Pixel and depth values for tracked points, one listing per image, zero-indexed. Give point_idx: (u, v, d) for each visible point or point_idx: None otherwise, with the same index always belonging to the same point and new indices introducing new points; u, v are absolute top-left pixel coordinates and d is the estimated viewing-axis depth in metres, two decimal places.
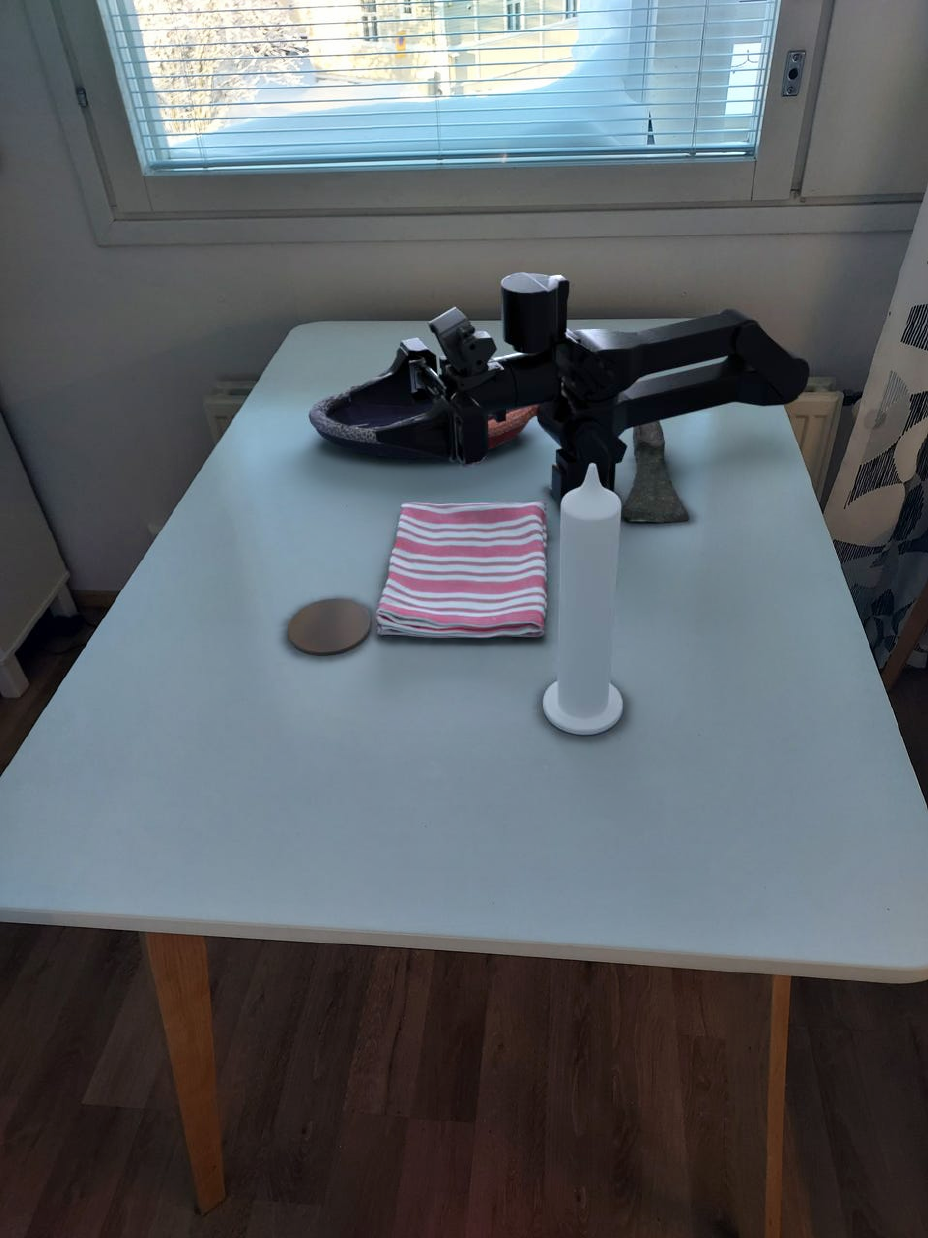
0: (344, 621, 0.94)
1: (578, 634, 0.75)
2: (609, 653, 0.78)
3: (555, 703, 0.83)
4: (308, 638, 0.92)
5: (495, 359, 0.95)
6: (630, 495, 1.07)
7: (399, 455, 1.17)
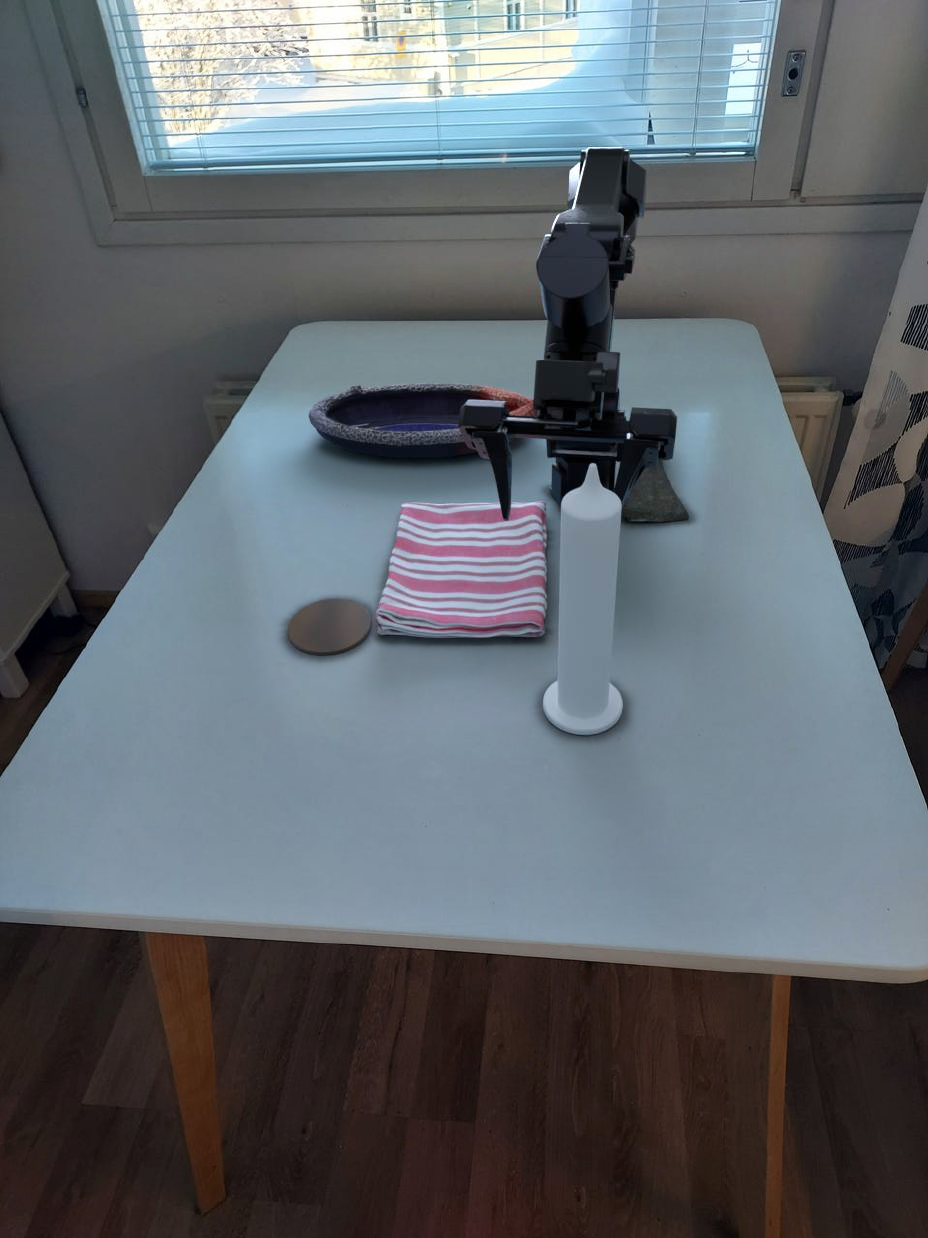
0: (344, 621, 0.94)
1: (578, 634, 0.75)
2: (609, 653, 0.78)
3: (555, 703, 0.83)
4: (308, 638, 0.92)
5: (569, 350, 0.80)
6: (629, 495, 1.07)
7: (399, 455, 1.17)
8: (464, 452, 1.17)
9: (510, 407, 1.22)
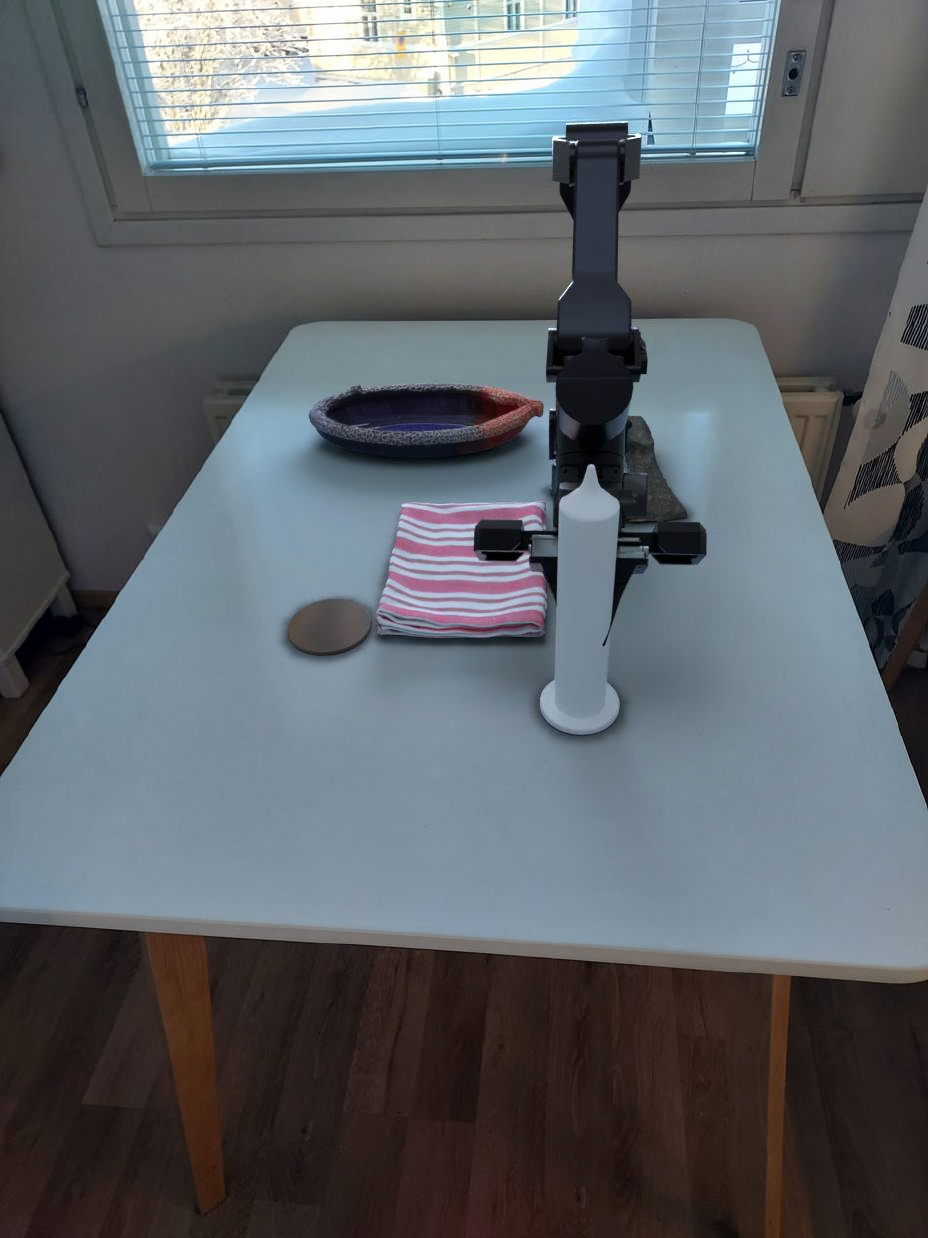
0: (344, 621, 0.94)
1: (577, 635, 0.75)
2: (607, 653, 0.78)
3: (552, 703, 0.83)
4: (308, 638, 0.92)
5: (587, 462, 0.75)
6: None
7: (399, 455, 1.17)
8: (464, 452, 1.17)
9: (510, 407, 1.22)
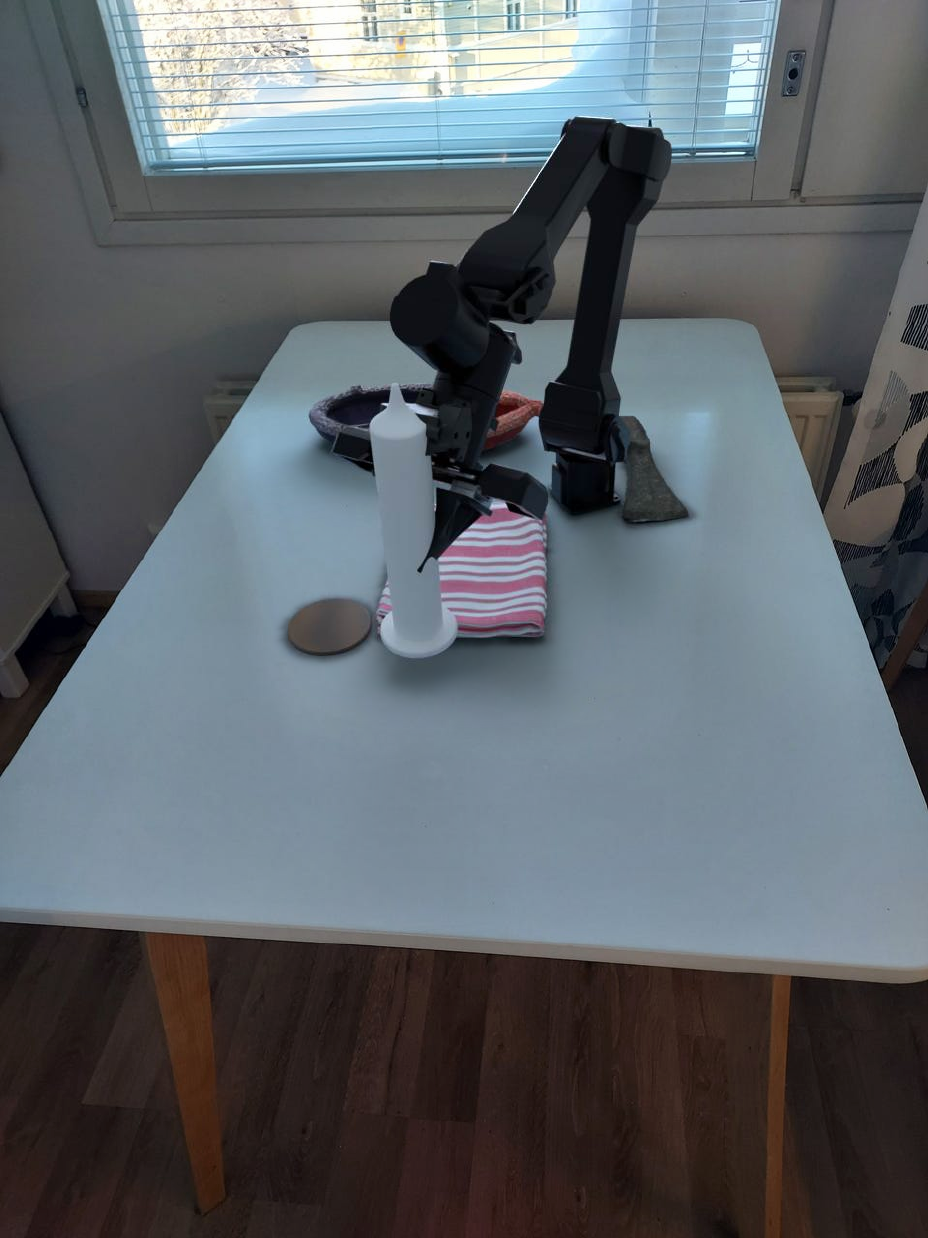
0: (344, 621, 0.94)
1: (390, 553, 0.77)
2: (427, 581, 0.79)
3: (393, 621, 0.85)
4: (308, 638, 0.92)
5: (445, 391, 0.76)
6: (627, 496, 1.07)
7: None
8: None
9: (510, 407, 1.22)
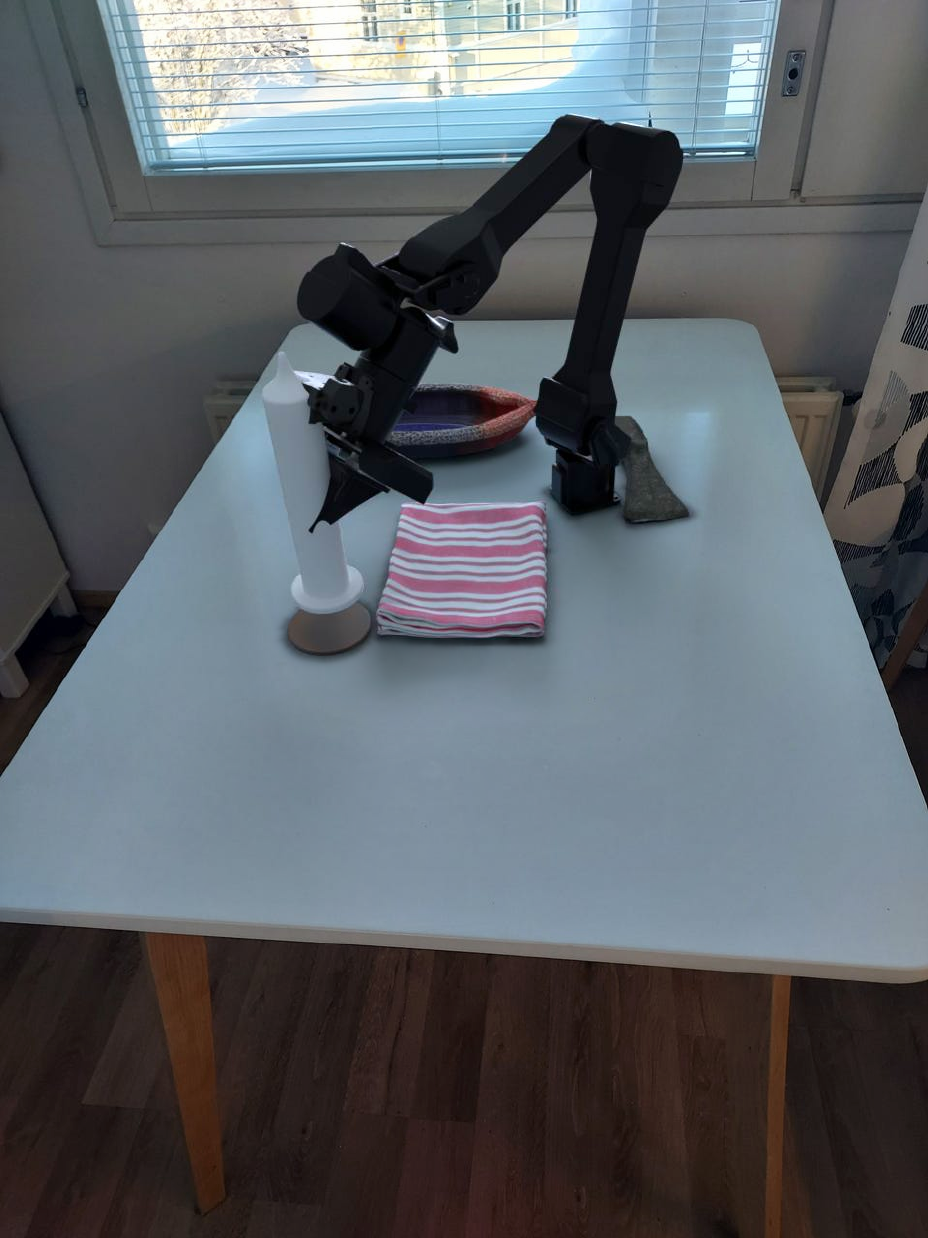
0: (344, 621, 0.94)
1: (287, 509, 0.83)
2: (320, 543, 0.84)
3: None
4: (308, 638, 0.92)
5: (359, 367, 0.80)
6: (627, 496, 1.07)
7: None
8: (464, 452, 1.17)
9: (510, 407, 1.22)
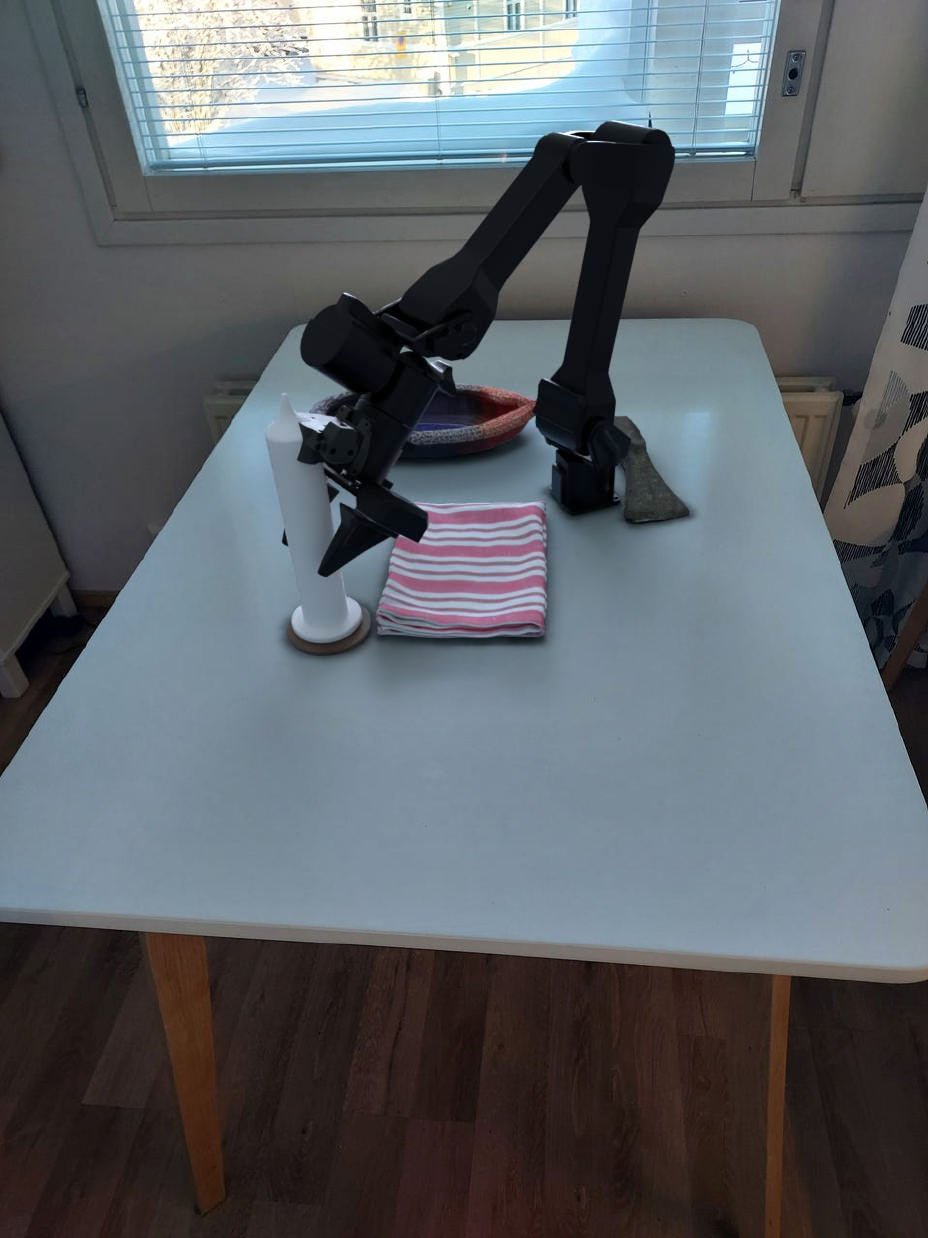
0: None
1: (288, 543, 0.87)
2: None
3: None
4: None
5: (359, 409, 0.83)
6: (628, 496, 1.07)
7: None
8: (464, 452, 1.17)
9: (510, 407, 1.22)
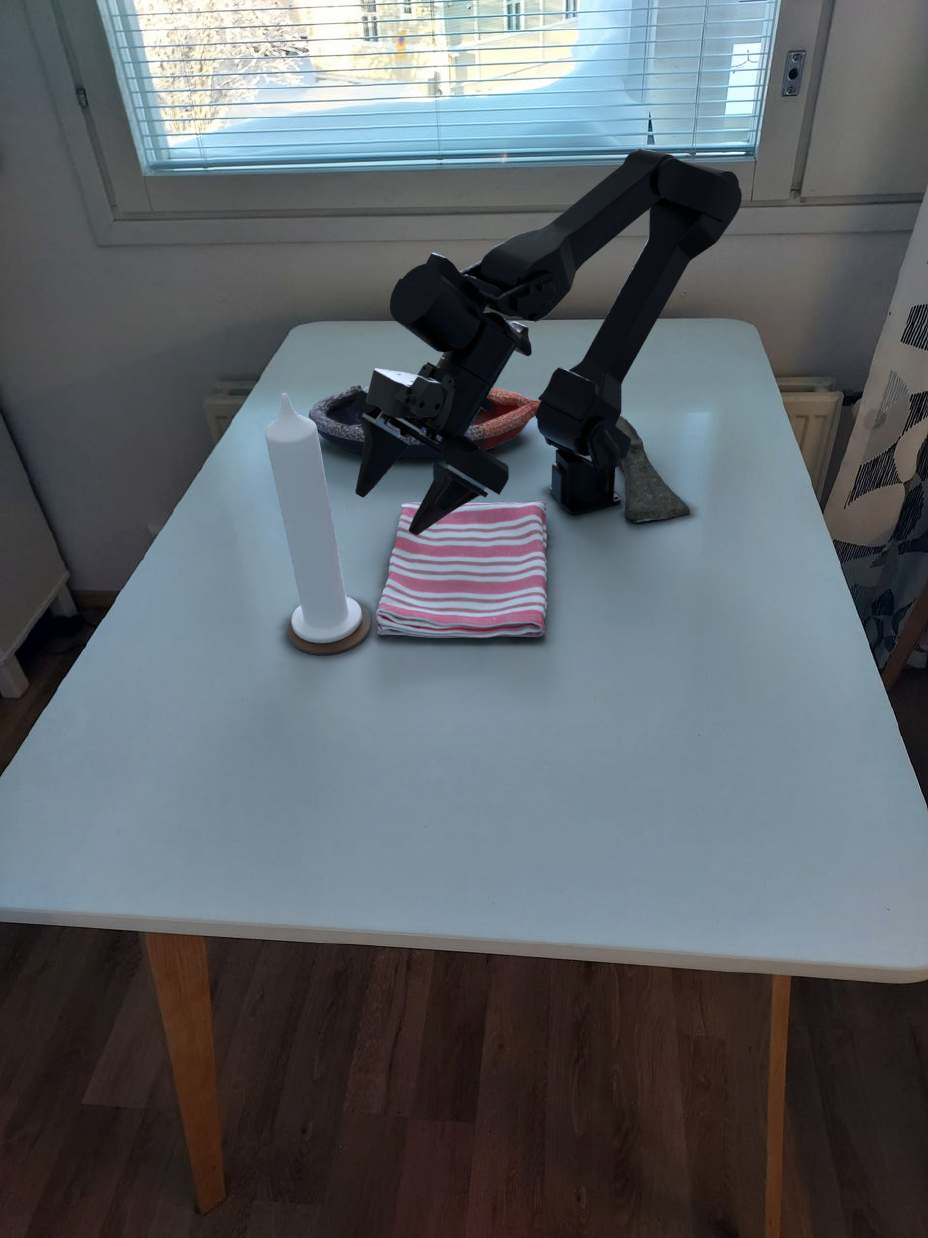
0: None
1: (288, 543, 0.87)
2: (320, 575, 0.88)
3: None
4: None
5: (442, 367, 0.87)
6: (628, 496, 1.07)
7: None
8: None
9: (510, 407, 1.22)
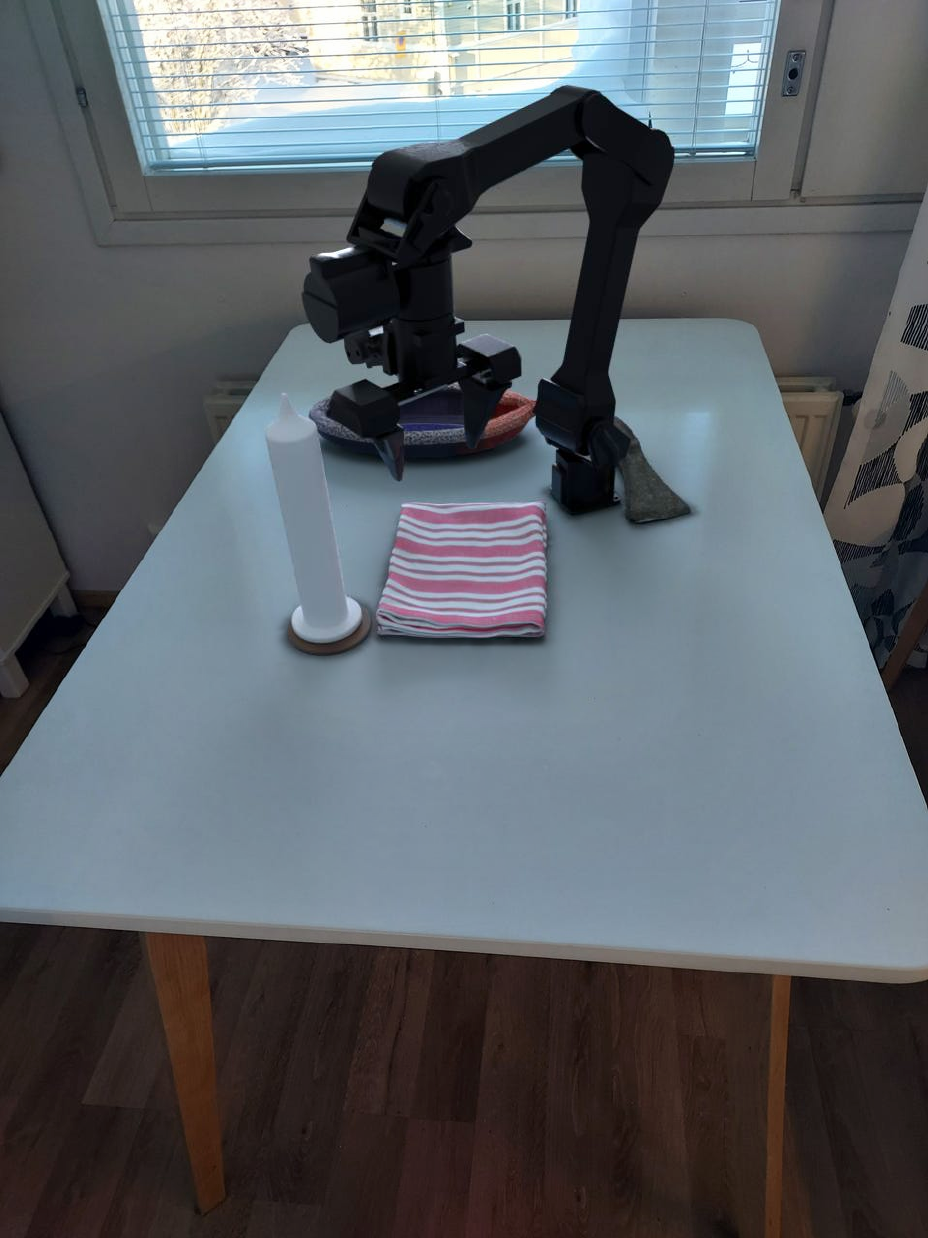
0: None
1: (288, 543, 0.87)
2: (320, 575, 0.88)
3: None
4: None
5: None
6: (628, 496, 1.07)
7: None
8: (464, 452, 1.17)
9: (510, 407, 1.22)
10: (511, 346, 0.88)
